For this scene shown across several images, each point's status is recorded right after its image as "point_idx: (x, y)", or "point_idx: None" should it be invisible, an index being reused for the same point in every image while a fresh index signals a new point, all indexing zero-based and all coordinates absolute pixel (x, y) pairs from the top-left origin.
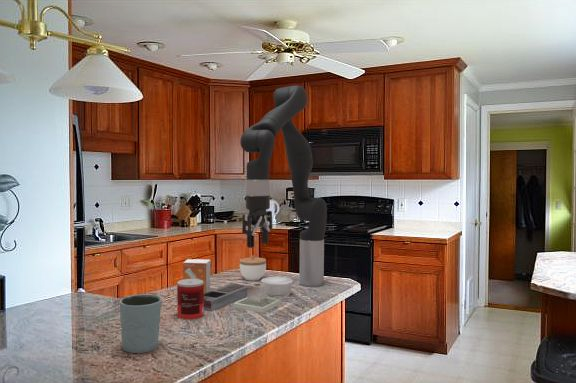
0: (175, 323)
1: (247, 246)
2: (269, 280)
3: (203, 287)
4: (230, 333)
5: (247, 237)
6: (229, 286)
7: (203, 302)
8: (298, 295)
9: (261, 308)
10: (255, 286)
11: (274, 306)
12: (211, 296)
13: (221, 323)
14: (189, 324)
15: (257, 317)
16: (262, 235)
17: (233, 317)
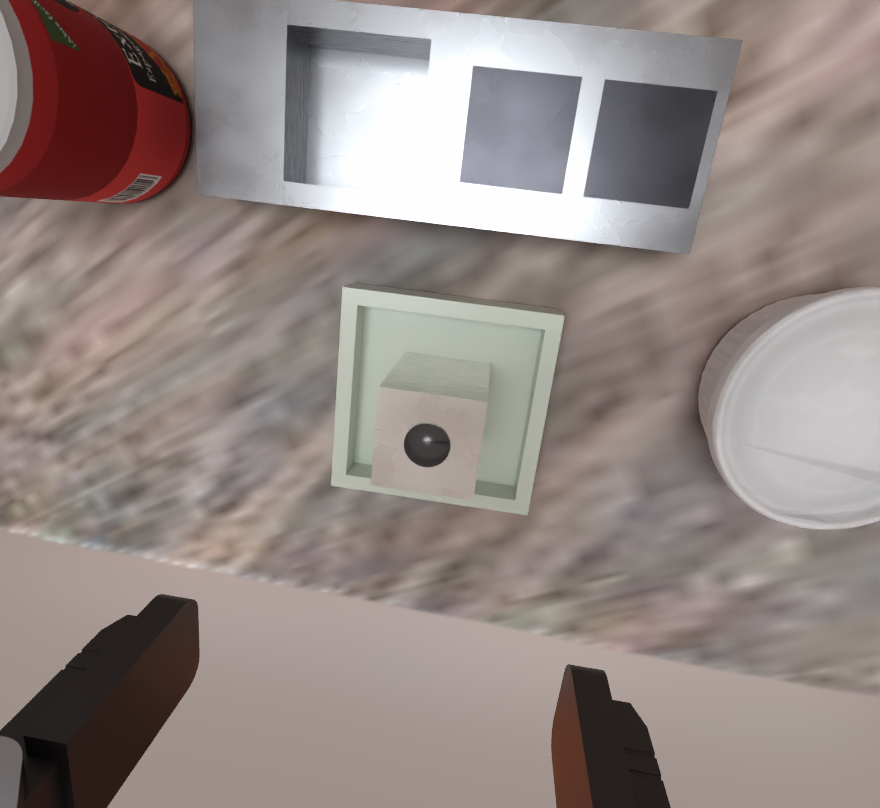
0: None
1: (158, 597)
2: (824, 368)
3: (7, 187)
4: (64, 429)
5: (11, 728)
6: (615, 98)
7: (93, 193)
8: None
9: (333, 473)
10: (378, 450)
11: None
12: (424, 49)
13: (147, 329)
14: None
15: (308, 451)
16: (583, 790)
17: (253, 341)
